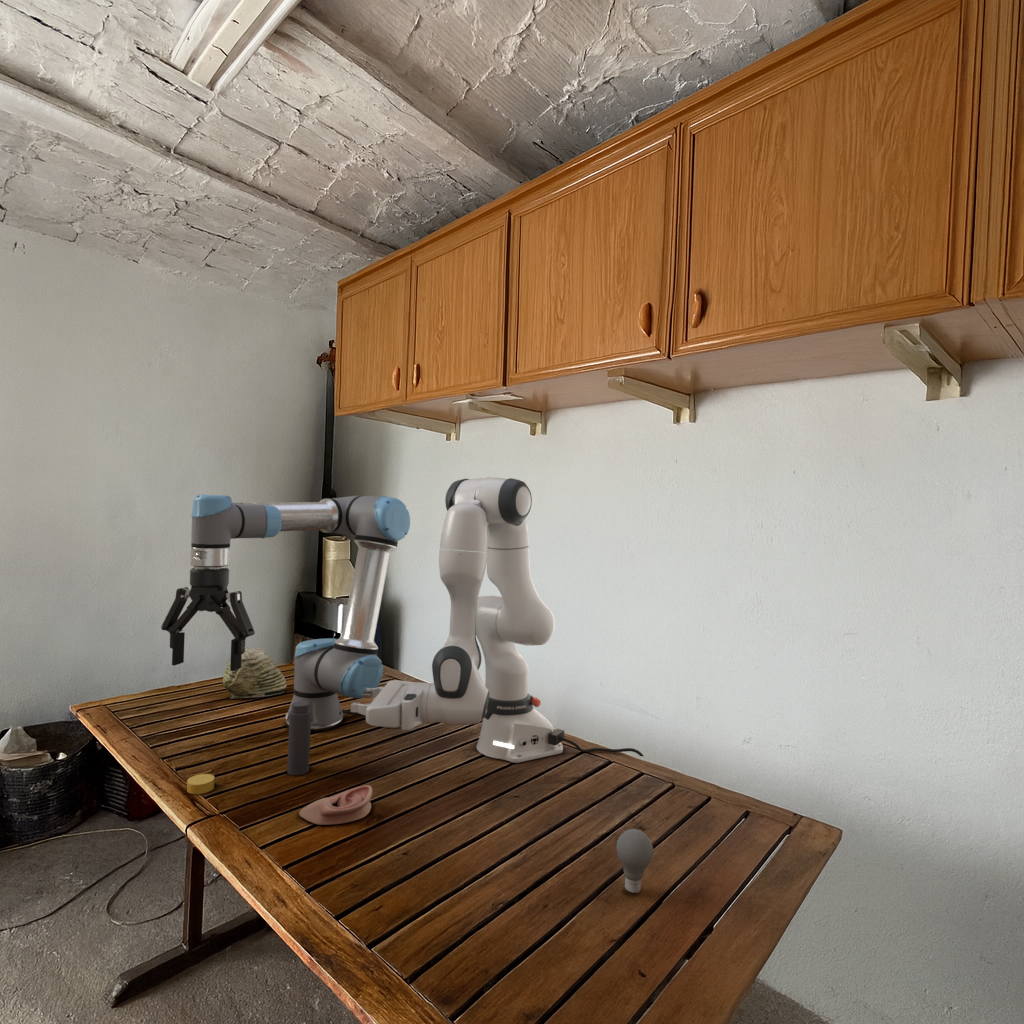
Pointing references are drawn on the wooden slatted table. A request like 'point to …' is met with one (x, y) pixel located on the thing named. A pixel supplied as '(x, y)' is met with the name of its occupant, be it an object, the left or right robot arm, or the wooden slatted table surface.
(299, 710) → the dark grey bottle
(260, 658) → the fossil
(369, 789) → the anatomical model
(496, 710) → the right robot arm
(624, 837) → the light bulb
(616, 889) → the wooden slatted table surface
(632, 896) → the wooden slatted table surface
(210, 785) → the lid
